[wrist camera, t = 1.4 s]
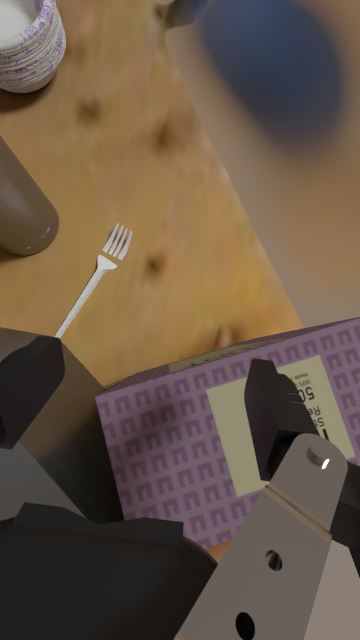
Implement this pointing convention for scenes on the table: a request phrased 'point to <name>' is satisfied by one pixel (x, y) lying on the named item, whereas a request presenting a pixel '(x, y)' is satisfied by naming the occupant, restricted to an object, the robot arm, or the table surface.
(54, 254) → the table surface
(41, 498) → the box
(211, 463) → the box
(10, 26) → the paper bowls
